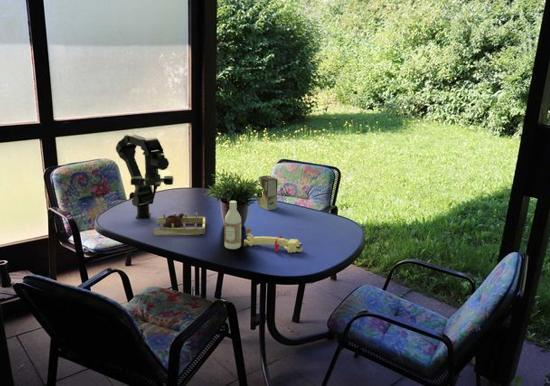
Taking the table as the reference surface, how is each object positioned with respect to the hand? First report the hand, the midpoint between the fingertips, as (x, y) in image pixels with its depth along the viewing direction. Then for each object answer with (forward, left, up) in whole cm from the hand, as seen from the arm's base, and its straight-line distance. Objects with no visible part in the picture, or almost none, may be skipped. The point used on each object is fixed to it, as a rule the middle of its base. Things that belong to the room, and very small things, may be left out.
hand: (153, 198), depth 228 cm
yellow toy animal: (+33, +53, -12) cm, 64 cm away
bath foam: (+30, +36, -12) cm, 48 cm away
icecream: (+9, +10, -12) cm, 18 cm away
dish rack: (+9, +13, -12) cm, 20 cm away
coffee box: (-20, +56, -12) cm, 61 cm away
